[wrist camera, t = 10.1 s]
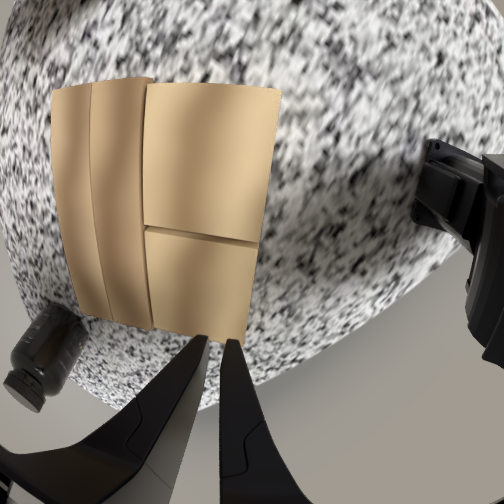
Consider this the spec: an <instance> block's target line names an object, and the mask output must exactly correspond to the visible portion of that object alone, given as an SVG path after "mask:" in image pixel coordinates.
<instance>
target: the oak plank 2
mask: <svg viewBox="0 0 504 504" xmlns="http://www.w3.org/2000/svg"><path fill="white" fill-rule="evenodd" d="M144 233H145V248H146V261H147V272H148V281H149V290H150V299H151V307H152V314H153V321H154V328H157V329H161V330H165V331H169V332H173V333H177V334H182V335H186V336H190V337H194V336H195V335H197V334H202V335H207V336H208V337H209V341H214V342H219V343H224V344H226V340H227V339H228V338H231V339H238V340H239V342H240V345H241V347H243V344H244V338H245V333H246V327H247V320H248V314H249V307H250V301H251V295H252V288H253V282H254V275H255V269H256V262H257V256H258V249H259V243H260V240H259V243H258V242H252V241H246V240H240V239H233V238H227V237H221V236H215V235H208V234H202V233H196V232H189V231H183V230H177V229H170V228H164V227H157V226H151V225H150V226H149V227H148V228H147V229H146V230H145V231H144Z"/></svg>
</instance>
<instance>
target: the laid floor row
mask: <svg viewBox="0 0 504 504" xmlns="http://www.w3.org/2000/svg"><path fill="white" fill-rule="evenodd" d="M147 84H153V78H148V77H134V78H123V79H115V80H107V81H100V82H93V83H87V84H82V85H76V86H71V87H67V88H62V89H58V90H53V91H52V106H51V152H52V169H53V181H54V190H55V199H56V206H57V213H58V220H59V225H60V231H61V236H62V242H63V246H64V251H65V256H66V260H67V264H68V268H69V272H70V276H71V280H72V283H73V287H74V291H75V294H76V297H77V301H78V304H79V307H80V310H81V313H84V314H87V315H90V316H94V317H97V318H101V319H105V320H109V321H112V322H113V321H114V322H116V323H120V324H124V325H128V326H132V327H137V328H141V329H145V330H150V331H152V330H153V328H154V321H153V314H152V307H151V299H150V290H149V281H148V272H147V261H146V248H145V233H144V231H145V230H146V229H147V228H148V227H149V225H144V212H143V141H144V120H145V106H146V94H147Z"/></svg>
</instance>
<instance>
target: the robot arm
mask: <svg viewBox="0 0 504 504" xmlns="http://www.w3.org/2000/svg"><path fill="white" fill-rule="evenodd" d="M436 143H437V148H436V149H435V144H436ZM415 196H416V198H415V201H414V205H413V208H412V211H411V214H410V218H411V220H412V221H413V222H414V223H416V224H420V225H424V226H428V227H432V228H436V229H440V230H444V231H448V232H449V233H450V234H451V235H452V236H453V237H454V238H455V239H456V240H457V241H459V242H460V243H461V244H462V245H463V246H464V247H465V248H466V249H467V250H468V251H469V252H470V253H471V254H472V255H473V256H474V258H473V262H472V267H471V271H470V275H469V279H467V282H466V286H465V287H466V291H467V294H468V295H467V299H466V305H465V309H466V314H467V318H468V321H469V322H468V325H467V326H468V329H469V330H470V332H471V334H472V335H473V337H474V338H475V339H476V340H477V341H478V342H479V343H480V344H481V345H482V346H483V347H485V348H486V349H485V351H484V353H483V354H482V359H483V360H485V361H488V362H491V363H494V364H496V365H498V366H500V367H501V368H503V369H504V155H503V154H482V160H481V159H479V158H477V157H475V156H473V155H471V154H469V153H467V152H465V151H463V150H461V149H459V148H456V147H454V146H452V145H450V144H448V143H445V142H443V141H441V140H438V139H432V140H431V141H430V143H429V147H428V152H427V156H426V160H425V164H424V165H423V168H422V172H421V176H420V180H419V184H418V187H417V191H416V194H415ZM417 214H419V215H418V217H417V218H415V216H416V215H417ZM209 353H210V349H209V337H208V336H207V335H202V334H197V335H195V336H194V338H193V339H192V340H191V341H190V342H189V343H188V344H187V345H186V346H185V347H184V348H183V349H182V350H181V351H180V352H179V353H178V354H177V355H176V356H175V357H174V358H173V359H172V360H171V361H170V362H169V363H168V364H167V365H166V366H165V367H164V368H163V369H162V370H161V371H160V372H159V373H158V374H157V375H156V376H155V377H154V378H153V379H152V380H151V381H150V382H149V383H148V384H147V385H146V386H145V387H144V388H143V389H142V390H141V391H140V392H139V393H138V394H137V395H136V398H135V397H134V398H133V399H132V400H131V401H130V402H129V403H128V404H127V405H126V406H125V407H124V408H123V409H122V410H121V411H119V412H118V413H117V414H116V415H115V416H113V417H112V418H111V419H110V420H109V421H107V422H106V423H105V424H103V425H102V426H101V427H99V428H98V429H96V430H95V431H94V432H92V433H91V434H90V435H88V436H87V437H85V438H84V439H83V440H81V441H80V442H78V443H76V444H74V445H72V446H69V447H65V448H60V449H55V450H49V451H43V452H37V453H29V454H14V453H11V452H10V451H8V450H7V449H6V448H5V447H3V446H2V445H1V444H0V504H169V501H170V498H171V495H172V492H173V491H172V490H173V488H174V485H175V482H176V478H177V475H178V472H179V469H180V465H181V462H182V459H183V456H184V452H185V449H186V446H187V443H188V439H189V436H190V433H191V430H192V426H193V423H194V420H195V417H196V413H197V410H198V407H199V404H200V401H201V397H202V394H203V389H204V383H205V377H206V371H207V366H208V360H209ZM219 407H220V408H219V476H220V504H313V503H312V502H311V501H310V500H309V499H308V498H307V497H306V496H305V495H304V494H303V492H302V491H301V489H300V488H299V486H298V485H297V483H296V482H295V480H294V478H293V477H292V475H291V473H290V472H289V470H288V468H287V466H286V465H285V463H284V461H283V459H282V458H281V456H280V454H279V452H278V450H277V448H276V446H275V444H274V442H273V439H272V436H271V434H270V431H269V429H268V426H267V424H266V421H265V420H264V419H265V418H264V415H263V412H262V409H261V406H260V403H259V400H258V397H257V395H256V391H255V388H254V385H253V382H252V379H251V376H250V373H249V370H248V367H247V364H246V361H245V358H244V354H243V351H242V348H241V345H240V342H239V340H238V339H231V338H228V339H227V340H226V344H225V348H224V353H223V357H222V361H221V366H220V403H219ZM491 504H504V497H503V498H501V499H499V500H497V501H495V502H493V503H491Z"/></svg>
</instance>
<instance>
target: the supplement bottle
mask: <svg viewBox="0 0 504 504" xmlns="http://www.w3.org/2000/svg"><path fill="white" fill-rule="evenodd" d="M87 339H88V336H87V331H86V329H85V327H84V325H83V323H82V322H81V321H80V319H79V318H78V317H77V316H76V315H75V314H74V313H73V312H71V311H70V310H69V309H67V308H66V307H64V306H62V305H59V304H55V303H52V304H48V305H46V306H45V307H44V308H43V310H42V311H41V312H40V313H39V315H38V316H37V317H36V318H35V320H34V321H33V322H32V324H31V325H30V327H29V328H28V329H27V331H26V332H25V333H24V335H23V336H22V337H21V339H20V340H19V342H18V343H17V344H16V346H15V347H14V349H13V351H12V353H11V364H12V367H13V371H9V373H8V376H7V378H6V379H5V381H4V383H3V385H4V387H5V388H6V390H7V391H8V392H9V393H10V394H11V395H12V396H13V397H14V398H15V399H16V400H18V401H19V402H20V403H21V404H22V405H24V406H25V407H27V408H28V409H30V410H31V411H33V412H35V413H39V412H40V410H41V408H42V406H43V404H45V402H46V399H45V396H50V397H51V396H56V395H57V394H59V393H60V391H61V389H62V387H63V385H64V384H65V381H66V380H67V378H68V376H69V374H70V372H71V370H72V368H73V367H74V365H75V363H76V361H77V359H78V357H79V356H80V354H81V352H82V350H83V348H84V347H85V345H86V343H87Z"/></svg>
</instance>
